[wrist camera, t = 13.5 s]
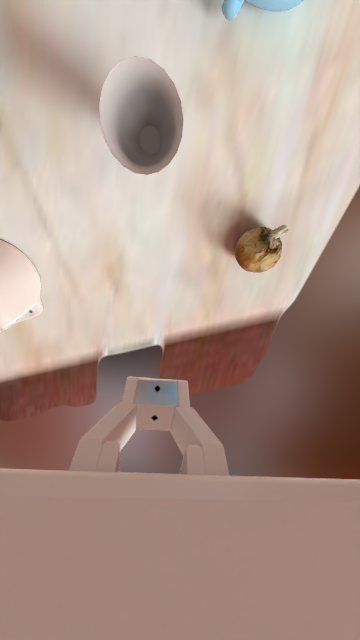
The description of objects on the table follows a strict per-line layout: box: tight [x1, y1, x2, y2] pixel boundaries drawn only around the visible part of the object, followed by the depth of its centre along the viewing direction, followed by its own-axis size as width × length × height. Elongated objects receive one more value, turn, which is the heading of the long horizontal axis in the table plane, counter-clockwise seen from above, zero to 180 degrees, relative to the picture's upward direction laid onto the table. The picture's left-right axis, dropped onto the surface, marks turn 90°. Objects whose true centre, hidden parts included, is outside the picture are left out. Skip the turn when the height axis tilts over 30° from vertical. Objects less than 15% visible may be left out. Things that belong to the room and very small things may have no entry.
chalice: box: [99, 56, 183, 175], centre depth 26 cm, size 7×7×18 cm
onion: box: [235, 225, 288, 272], centre depth 38 cm, size 8×8×8 cm
